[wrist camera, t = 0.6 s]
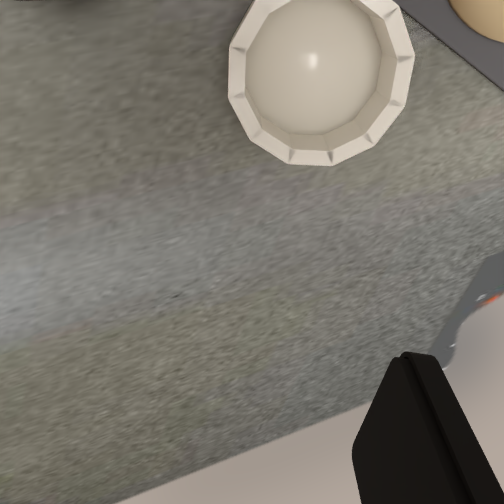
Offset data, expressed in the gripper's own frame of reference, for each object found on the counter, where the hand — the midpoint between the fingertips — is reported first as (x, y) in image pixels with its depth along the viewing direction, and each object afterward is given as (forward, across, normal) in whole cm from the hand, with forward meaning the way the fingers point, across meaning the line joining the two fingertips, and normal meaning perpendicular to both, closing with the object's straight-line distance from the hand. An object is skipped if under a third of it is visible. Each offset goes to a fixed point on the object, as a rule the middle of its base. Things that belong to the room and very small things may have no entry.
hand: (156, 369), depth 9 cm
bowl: (+28, -6, -3) cm, 28 cm away
